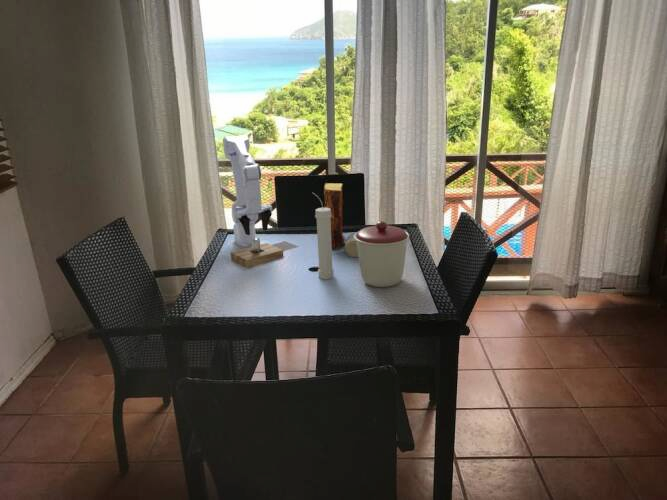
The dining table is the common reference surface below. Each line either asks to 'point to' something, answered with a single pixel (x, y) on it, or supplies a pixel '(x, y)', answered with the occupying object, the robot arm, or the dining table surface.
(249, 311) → the dining table surface
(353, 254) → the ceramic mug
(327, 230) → the white tall cylinder
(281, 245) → the mat
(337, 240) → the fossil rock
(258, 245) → the peg
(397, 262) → the canister
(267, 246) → the block
